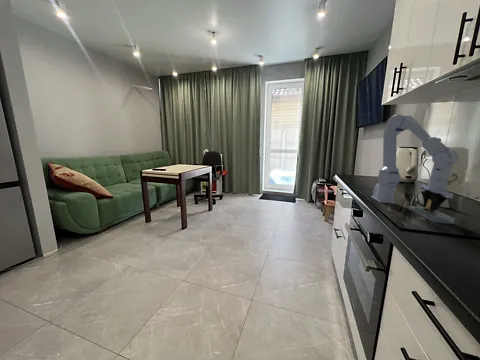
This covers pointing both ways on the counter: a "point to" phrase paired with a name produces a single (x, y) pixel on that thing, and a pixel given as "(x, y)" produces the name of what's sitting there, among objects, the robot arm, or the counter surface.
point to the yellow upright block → (428, 205)
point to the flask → (445, 203)
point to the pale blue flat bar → (432, 215)
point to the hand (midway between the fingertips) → (429, 208)
